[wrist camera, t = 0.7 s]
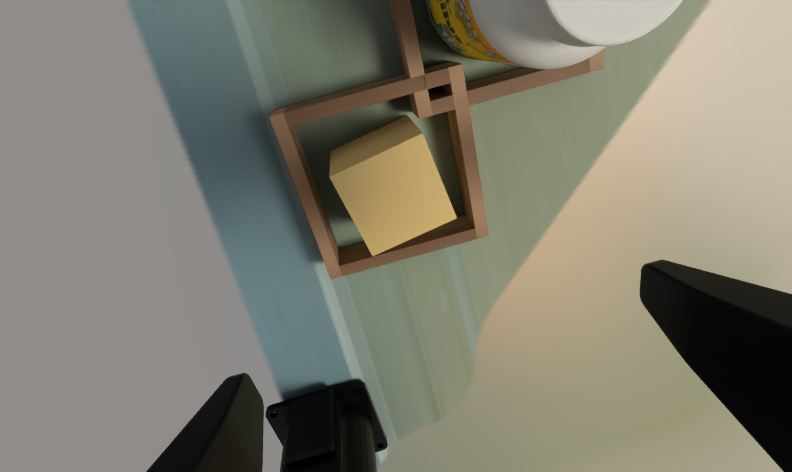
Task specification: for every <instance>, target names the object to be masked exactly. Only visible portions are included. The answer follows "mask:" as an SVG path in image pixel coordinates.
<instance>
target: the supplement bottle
mask: <svg viewBox="0 0 792 472" xmlns="http://www.w3.org/2000/svg"><path fill="white" fill-rule="evenodd" d="M682 1H683V0H426V4H427V9H428V14H429V17H430V19H431V22H432V24H433V26H434V27H435V29H436V31H437V32H438V34H439V35H440V36H441V38H442V39H443V40H444V41H445V42H446V43H447V44H448V45H449V46H450V47H451V48H452V49H453V50H454V51H456V52H458V53H459V54H461V55H463V56H466V57H469V58H472V59H476V60H484V61H491V62H498V63H503V64H509V65H515V66H521V67H528V68H535V69H556V68H563V67H567V66H571V65H574V64H577V63H579V62H582V61H584V60H586V59H588V58H590V57H592V56H593V55H595V54H597V53H598V52H600V51H601V50H603V49H604V48H605V47H607V46H613V45H619V44H623V43H626V42H629V41H632V40H635V39H637V38H639V37H641V36H643V35H645V34H646V33H648V32H650V31H651V30H652V29H654V28H655V27H657V26H658V25H660V24H661V23H662V22H663V21H664V20H665V19H667V18H668V17H669V16H670V15H671V14H672V13H673V12H674V10H675V9H676V8H677V7H678V6H679V4H680V3H681V2H682Z"/></svg>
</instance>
